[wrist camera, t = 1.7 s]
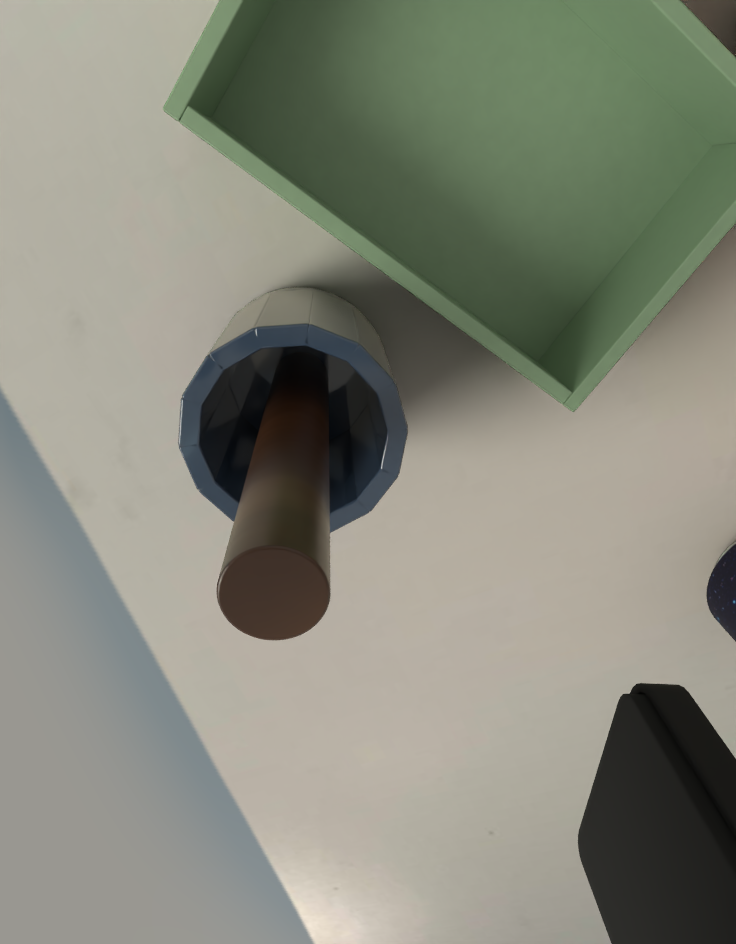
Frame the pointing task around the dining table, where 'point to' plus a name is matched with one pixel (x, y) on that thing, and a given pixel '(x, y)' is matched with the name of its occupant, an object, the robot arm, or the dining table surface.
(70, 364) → the dining table surface
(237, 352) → the holder
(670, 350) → the dining table surface
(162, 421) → the dining table surface
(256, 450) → the stick
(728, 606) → the beverage can
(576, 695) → the dining table surface
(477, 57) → the tray
